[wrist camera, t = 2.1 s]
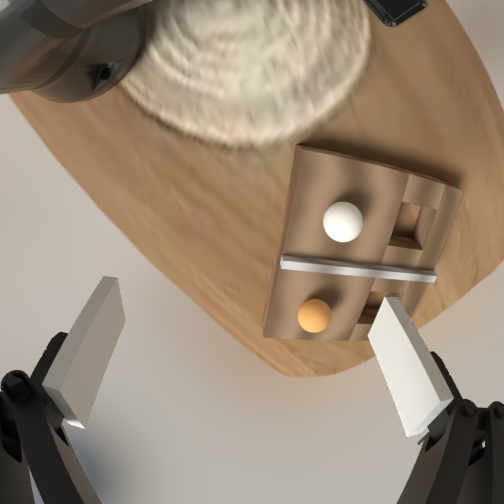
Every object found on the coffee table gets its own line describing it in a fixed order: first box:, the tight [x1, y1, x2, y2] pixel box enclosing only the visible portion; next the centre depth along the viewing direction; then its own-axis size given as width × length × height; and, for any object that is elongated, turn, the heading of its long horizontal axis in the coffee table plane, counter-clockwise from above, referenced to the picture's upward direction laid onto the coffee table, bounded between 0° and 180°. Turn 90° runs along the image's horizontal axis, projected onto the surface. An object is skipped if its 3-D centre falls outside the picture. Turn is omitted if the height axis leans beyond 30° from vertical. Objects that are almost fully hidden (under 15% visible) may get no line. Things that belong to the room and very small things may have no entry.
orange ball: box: [298, 299, 331, 333], centre depth 34 cm, size 4×4×4 cm
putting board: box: [262, 144, 463, 341], centre depth 34 cm, size 21×24×5 cm
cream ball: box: [323, 202, 363, 242], centre depth 28 cm, size 4×4×4 cm
